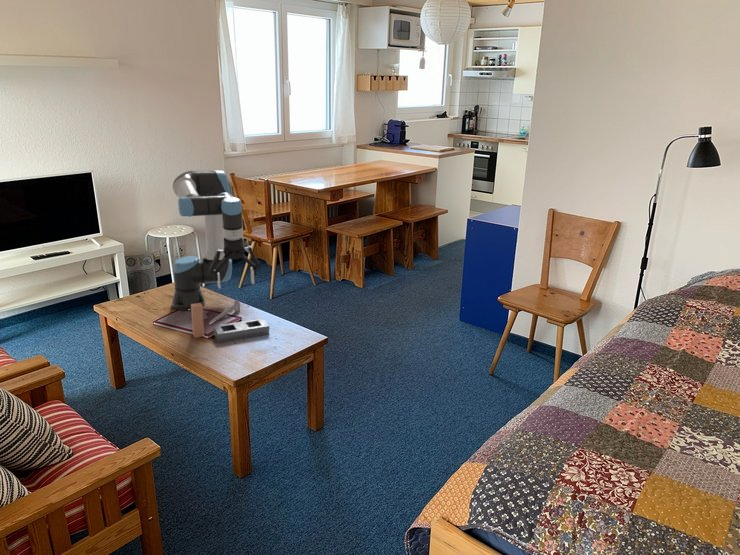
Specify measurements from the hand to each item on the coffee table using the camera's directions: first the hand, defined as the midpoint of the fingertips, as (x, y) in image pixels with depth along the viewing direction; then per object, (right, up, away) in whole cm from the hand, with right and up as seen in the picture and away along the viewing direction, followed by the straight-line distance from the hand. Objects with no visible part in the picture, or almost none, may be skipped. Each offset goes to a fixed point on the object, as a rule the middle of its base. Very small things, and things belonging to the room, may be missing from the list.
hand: (236, 284), depth 231 cm
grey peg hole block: (-1, -22, +14) cm, 26 cm away
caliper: (-13, -16, +31) cm, 37 cm away
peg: (-19, -22, +12) cm, 31 cm away
